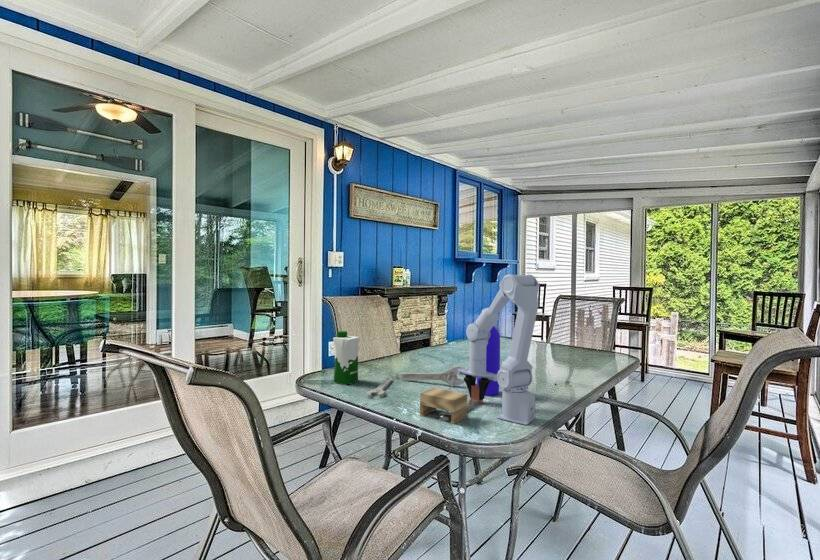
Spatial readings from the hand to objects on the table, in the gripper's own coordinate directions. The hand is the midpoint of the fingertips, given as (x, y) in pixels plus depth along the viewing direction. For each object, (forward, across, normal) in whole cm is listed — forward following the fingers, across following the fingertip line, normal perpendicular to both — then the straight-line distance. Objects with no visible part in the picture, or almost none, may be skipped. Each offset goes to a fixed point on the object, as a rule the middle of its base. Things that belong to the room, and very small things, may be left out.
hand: (477, 398), depth 144 cm
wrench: (+2, +26, -11) cm, 28 cm away
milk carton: (+2, +54, +8) cm, 55 cm away
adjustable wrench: (+2, +36, +7) cm, 36 cm away
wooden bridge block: (+1, +2, +19) cm, 19 cm away
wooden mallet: (+1, 0, +7) cm, 7 cm away
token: (+2, 0, +20) cm, 21 cm away
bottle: (+2, +2, -13) cm, 13 cm away
